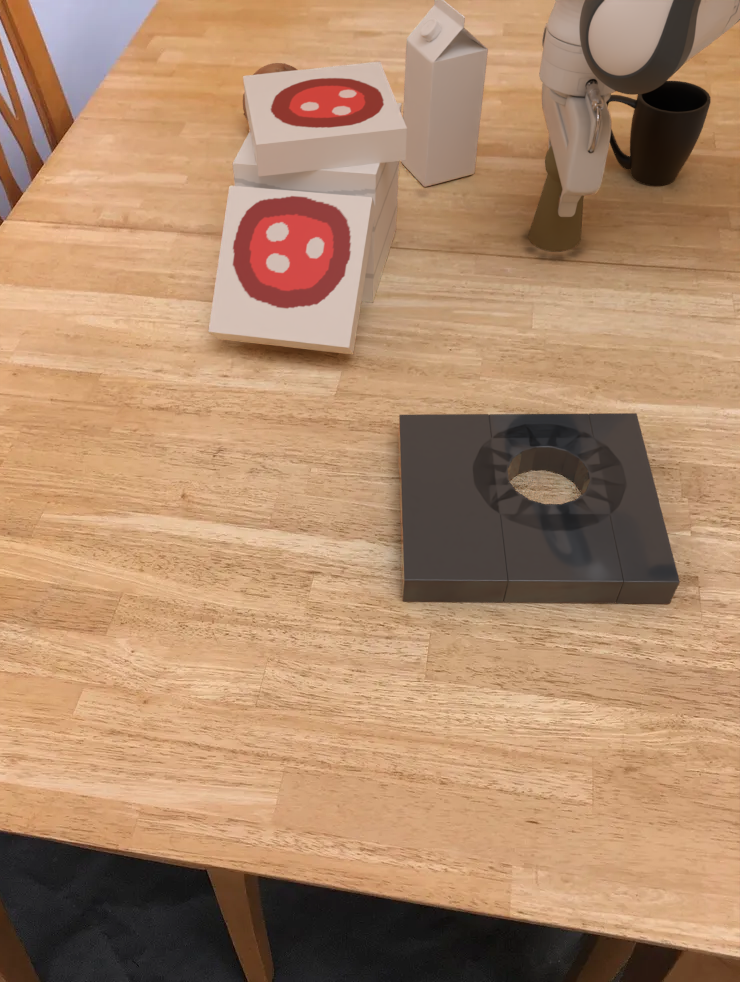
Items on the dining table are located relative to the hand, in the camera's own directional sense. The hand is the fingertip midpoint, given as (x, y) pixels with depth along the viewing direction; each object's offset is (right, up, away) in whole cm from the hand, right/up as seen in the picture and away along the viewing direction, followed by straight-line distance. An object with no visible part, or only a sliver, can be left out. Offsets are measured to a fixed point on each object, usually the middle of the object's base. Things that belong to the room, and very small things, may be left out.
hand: (559, 190), depth 104 cm
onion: (-32, +18, +23) cm, 43 cm away
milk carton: (-11, +9, +15) cm, 21 cm away
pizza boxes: (-28, -10, +1) cm, 30 cm away
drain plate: (-9, -39, -21) cm, 45 cm away
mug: (+13, +8, +12) cm, 20 cm away
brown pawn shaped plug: (+1, -4, +5) cm, 6 cm away
